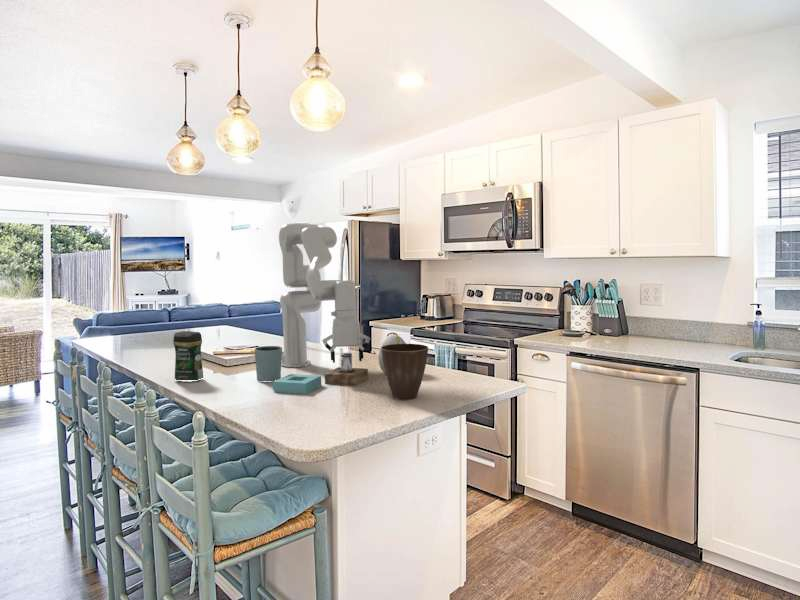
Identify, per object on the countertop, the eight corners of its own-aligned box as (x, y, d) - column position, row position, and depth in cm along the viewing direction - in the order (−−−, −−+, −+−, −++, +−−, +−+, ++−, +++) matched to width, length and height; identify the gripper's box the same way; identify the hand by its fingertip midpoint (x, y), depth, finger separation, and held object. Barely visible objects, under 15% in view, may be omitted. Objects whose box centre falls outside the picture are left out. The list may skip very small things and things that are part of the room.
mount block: (324, 383, 180) (324, 373, 180) (338, 376, 192) (338, 367, 191) (356, 385, 177) (356, 375, 176) (368, 377, 188) (367, 368, 188)
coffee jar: (170, 382, 185) (168, 332, 184) (185, 377, 193) (182, 329, 192) (193, 383, 183) (191, 333, 182) (207, 378, 191) (205, 330, 189)
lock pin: (339, 381, 183) (339, 354, 182) (344, 379, 187) (343, 352, 186) (350, 382, 182) (349, 354, 181) (354, 379, 186) (353, 352, 185)
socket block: (273, 391, 169) (273, 381, 169) (290, 383, 181) (290, 374, 180) (305, 394, 166) (305, 383, 166) (321, 385, 177) (321, 375, 177)
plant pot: (428, 390, 167) (427, 343, 166) (429, 403, 153) (428, 350, 152) (383, 391, 168) (382, 343, 167) (380, 403, 153) (379, 351, 152)
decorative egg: (407, 376, 190) (407, 337, 189) (375, 375, 192) (375, 336, 191) (412, 369, 202) (411, 332, 201) (382, 369, 204) (381, 332, 203)
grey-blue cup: (265, 376, 194) (264, 345, 193) (288, 377, 191) (287, 346, 190) (249, 382, 184) (248, 349, 184) (273, 383, 181) (272, 350, 180)
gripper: (321, 316, 177) (323, 364, 178) (370, 314, 180) (371, 362, 181) (321, 314, 185) (323, 361, 186) (368, 312, 187) (369, 358, 188)
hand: (347, 361), depth 183 cm, fingers open, 9 cm apart
